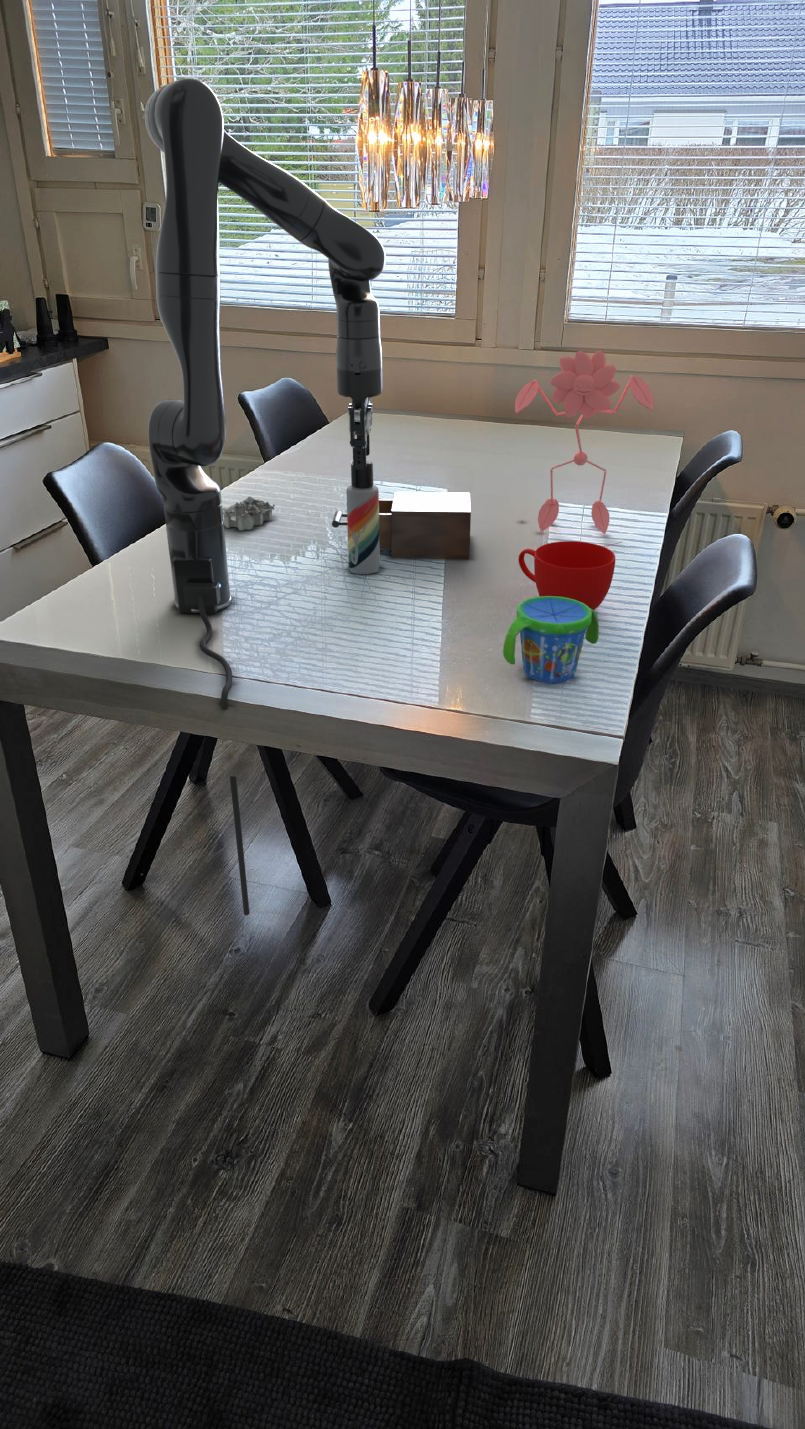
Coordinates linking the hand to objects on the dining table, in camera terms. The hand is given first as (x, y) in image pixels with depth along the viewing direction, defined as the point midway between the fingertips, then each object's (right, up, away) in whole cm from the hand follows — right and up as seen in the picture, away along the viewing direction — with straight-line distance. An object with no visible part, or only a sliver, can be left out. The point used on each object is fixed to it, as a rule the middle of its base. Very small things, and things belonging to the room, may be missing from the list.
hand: (361, 462), depth 174 cm
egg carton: (-25, -4, +33) cm, 42 cm away
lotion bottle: (0, -17, +10) cm, 20 cm away
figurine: (+41, -9, +25) cm, 49 cm away
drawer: (+3, -11, +19) cm, 22 cm away
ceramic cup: (+33, -26, -6) cm, 43 cm away
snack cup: (+28, -38, -27) cm, 55 cm away
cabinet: (+13, -12, +20) cm, 26 cm away
